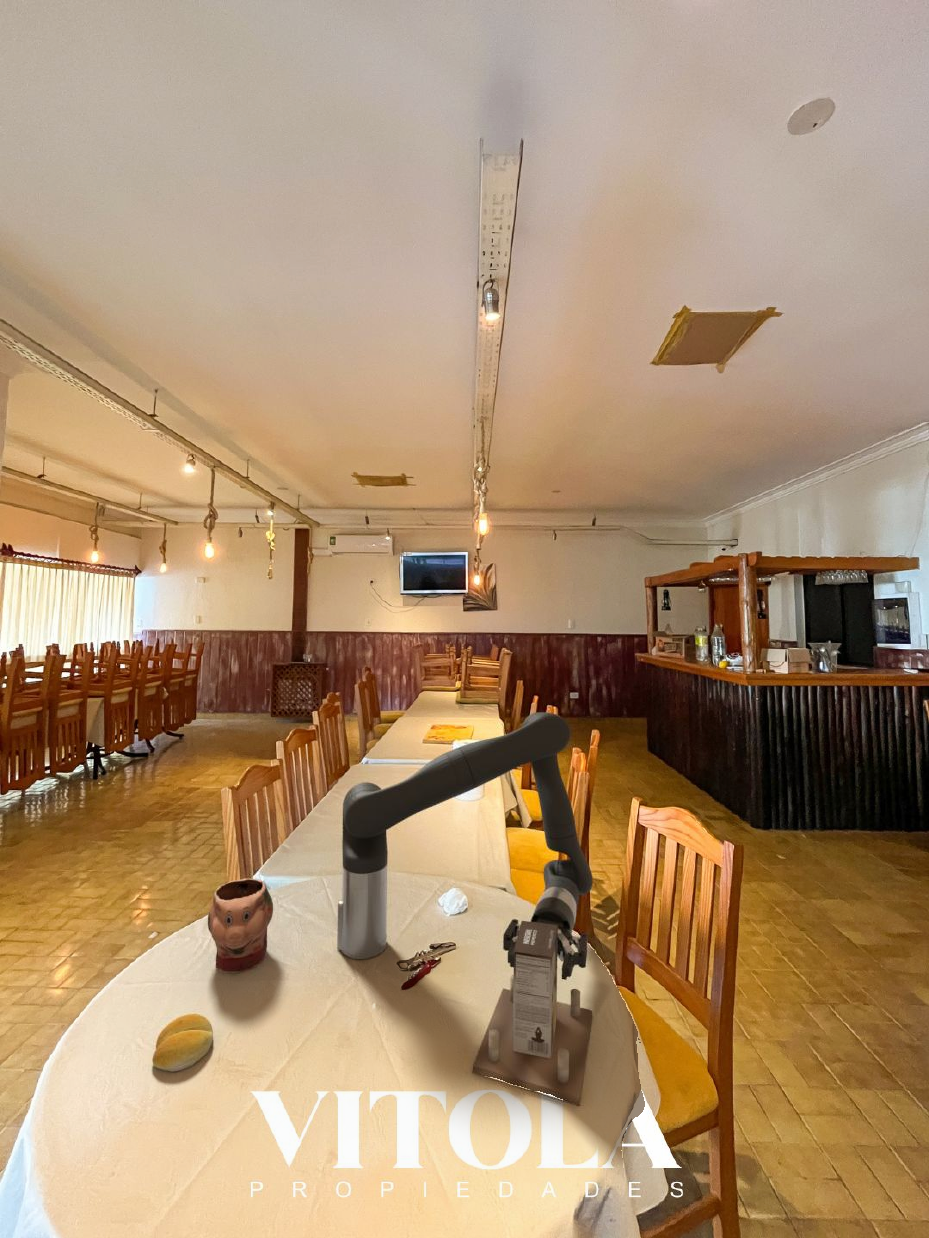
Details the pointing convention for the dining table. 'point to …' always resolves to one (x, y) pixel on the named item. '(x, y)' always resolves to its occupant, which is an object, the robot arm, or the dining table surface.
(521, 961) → the coffee box
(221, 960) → the decorative planter
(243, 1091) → the dining table surface
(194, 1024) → the bread roll
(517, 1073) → the standoff plate
